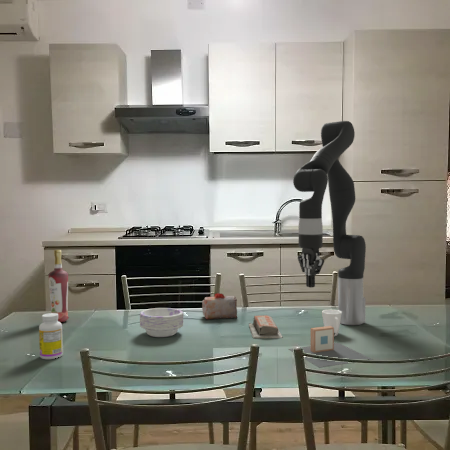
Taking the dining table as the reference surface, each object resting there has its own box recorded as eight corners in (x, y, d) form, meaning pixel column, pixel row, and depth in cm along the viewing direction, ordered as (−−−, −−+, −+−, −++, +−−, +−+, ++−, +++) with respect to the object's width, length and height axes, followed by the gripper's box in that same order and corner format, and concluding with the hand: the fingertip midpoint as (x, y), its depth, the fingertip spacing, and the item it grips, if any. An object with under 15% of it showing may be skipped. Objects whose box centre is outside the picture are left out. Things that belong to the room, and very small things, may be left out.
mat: (338, 344, 160) (338, 342, 160) (373, 361, 143) (373, 359, 143) (288, 350, 154) (288, 349, 154) (319, 369, 137) (319, 367, 137)
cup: (338, 331, 175) (338, 308, 175) (348, 339, 165) (348, 315, 165) (319, 332, 175) (319, 309, 174) (327, 340, 165) (327, 316, 164)
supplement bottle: (43, 353, 153) (42, 312, 153) (65, 352, 154) (64, 311, 153) (37, 360, 147) (35, 317, 146) (59, 359, 147) (58, 317, 146)
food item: (203, 320, 193) (203, 295, 192) (201, 315, 201) (201, 291, 200) (238, 319, 195) (237, 294, 194) (235, 314, 203) (234, 290, 202)
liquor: (73, 320, 194) (71, 249, 192) (58, 325, 188) (56, 251, 186) (61, 318, 198) (59, 248, 196) (45, 322, 192) (43, 250, 190)
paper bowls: (191, 330, 178) (191, 309, 178) (169, 342, 164) (168, 318, 164) (155, 326, 184) (155, 305, 184) (131, 337, 171) (130, 314, 170)
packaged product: (248, 314, 184) (274, 313, 184) (248, 327, 184) (275, 326, 184) (253, 327, 166) (283, 326, 166) (253, 341, 166) (283, 340, 166)
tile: (330, 348, 154) (330, 325, 154) (334, 350, 152) (334, 327, 152) (310, 350, 152) (310, 328, 152) (314, 352, 150) (314, 329, 150)
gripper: (332, 233, 152) (332, 289, 153) (310, 231, 164) (310, 282, 165) (310, 234, 149) (310, 291, 150) (290, 231, 162) (290, 284, 163)
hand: (310, 286), depth 158 cm, fingers closed
